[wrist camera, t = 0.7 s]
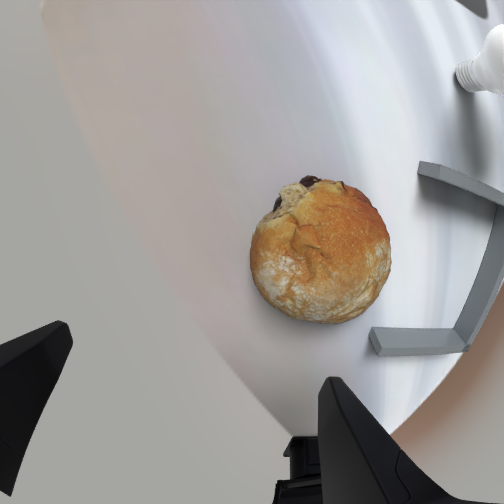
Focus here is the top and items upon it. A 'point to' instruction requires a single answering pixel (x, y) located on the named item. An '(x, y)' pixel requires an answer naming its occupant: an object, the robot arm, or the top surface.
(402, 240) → the top surface
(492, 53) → the lightbulb
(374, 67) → the top surface
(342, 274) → the bread roll
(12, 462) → the robot arm
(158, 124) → the top surface
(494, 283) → the grey u-shaped frame
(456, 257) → the top surface
